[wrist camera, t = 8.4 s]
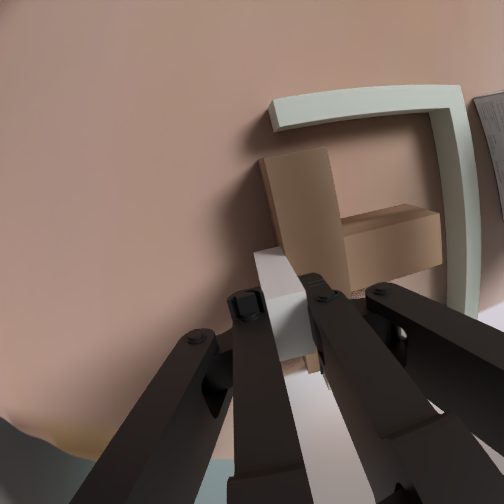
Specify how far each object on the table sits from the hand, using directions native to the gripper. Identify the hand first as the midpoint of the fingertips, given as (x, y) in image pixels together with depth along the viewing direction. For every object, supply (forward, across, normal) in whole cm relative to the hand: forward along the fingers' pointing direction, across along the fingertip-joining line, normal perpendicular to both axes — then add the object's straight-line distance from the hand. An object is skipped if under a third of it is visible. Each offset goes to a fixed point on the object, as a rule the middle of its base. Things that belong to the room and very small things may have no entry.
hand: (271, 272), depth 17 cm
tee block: (+2, +5, 0) cm, 6 cm away
